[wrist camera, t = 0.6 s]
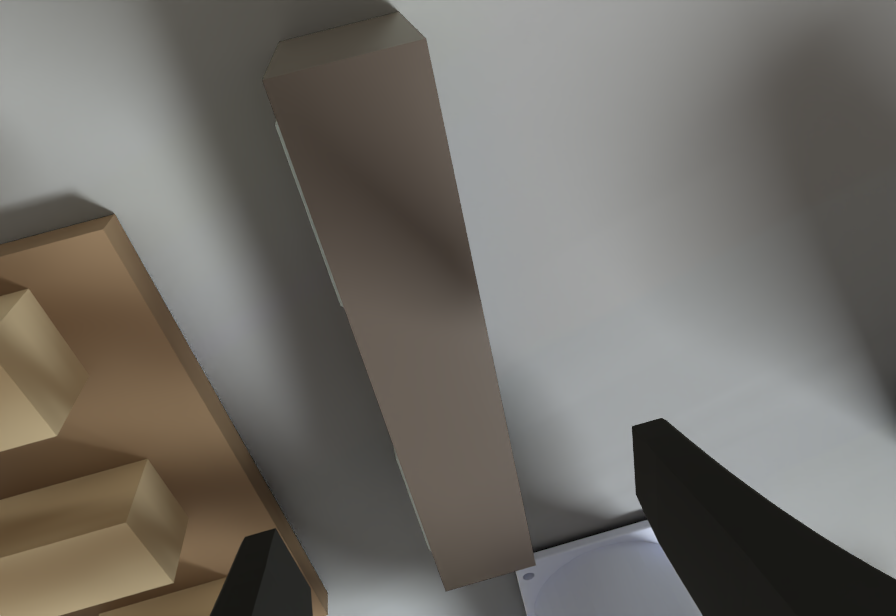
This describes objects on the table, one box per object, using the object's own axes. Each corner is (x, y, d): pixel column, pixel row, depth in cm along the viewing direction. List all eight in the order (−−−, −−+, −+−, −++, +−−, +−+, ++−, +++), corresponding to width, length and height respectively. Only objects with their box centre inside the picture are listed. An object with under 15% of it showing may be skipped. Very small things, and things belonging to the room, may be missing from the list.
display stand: (327, 592, 26) (328, 677, 23) (97, 659, 26) (67, 753, 23) (114, 213, 16) (68, 275, 13) (-262, 314, 16) (-396, 400, 13)
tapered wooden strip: (498, 454, 24) (536, 565, 19) (419, 476, 24) (439, 593, 19) (398, 10, 15) (425, 38, 11) (272, 41, 15) (251, 82, 11)
